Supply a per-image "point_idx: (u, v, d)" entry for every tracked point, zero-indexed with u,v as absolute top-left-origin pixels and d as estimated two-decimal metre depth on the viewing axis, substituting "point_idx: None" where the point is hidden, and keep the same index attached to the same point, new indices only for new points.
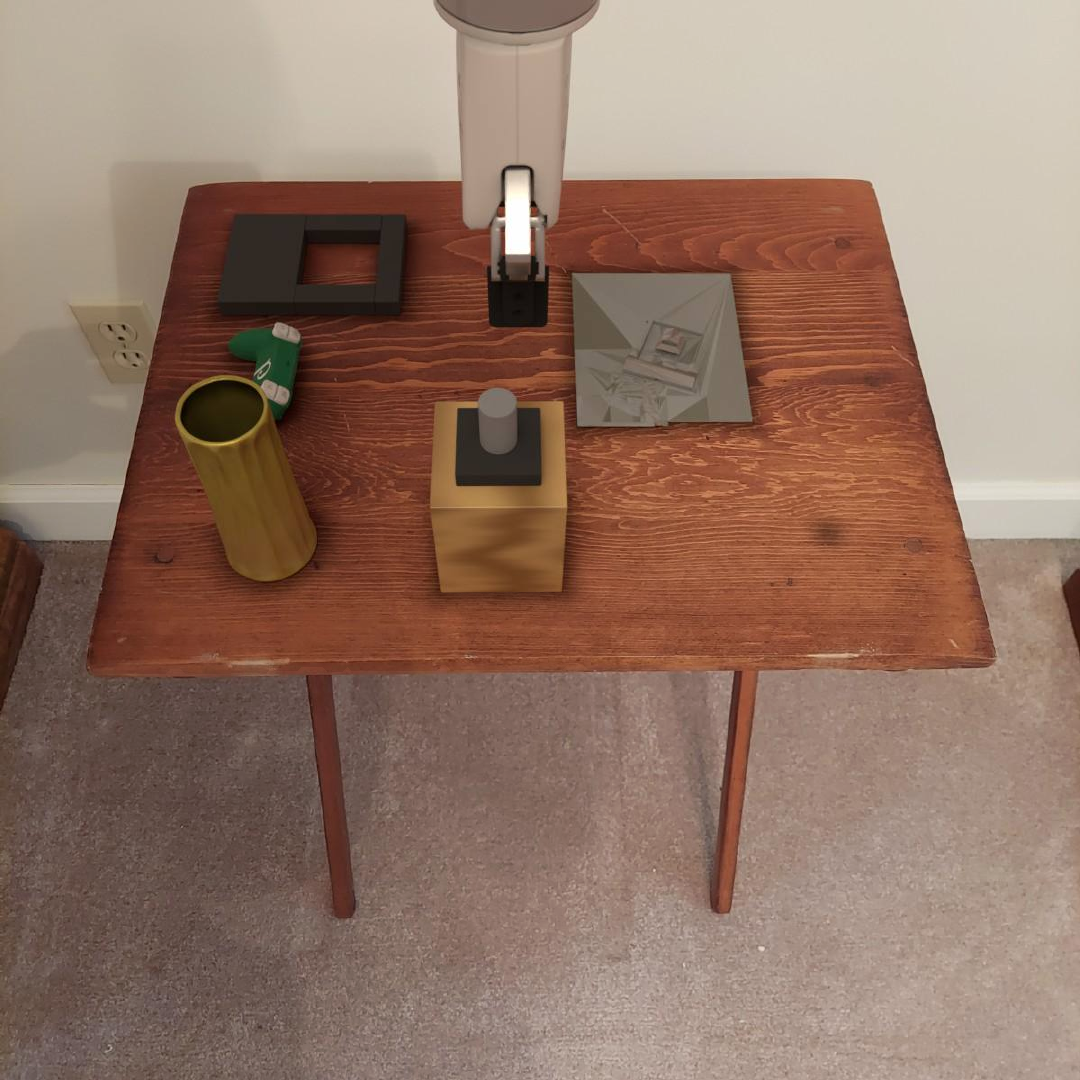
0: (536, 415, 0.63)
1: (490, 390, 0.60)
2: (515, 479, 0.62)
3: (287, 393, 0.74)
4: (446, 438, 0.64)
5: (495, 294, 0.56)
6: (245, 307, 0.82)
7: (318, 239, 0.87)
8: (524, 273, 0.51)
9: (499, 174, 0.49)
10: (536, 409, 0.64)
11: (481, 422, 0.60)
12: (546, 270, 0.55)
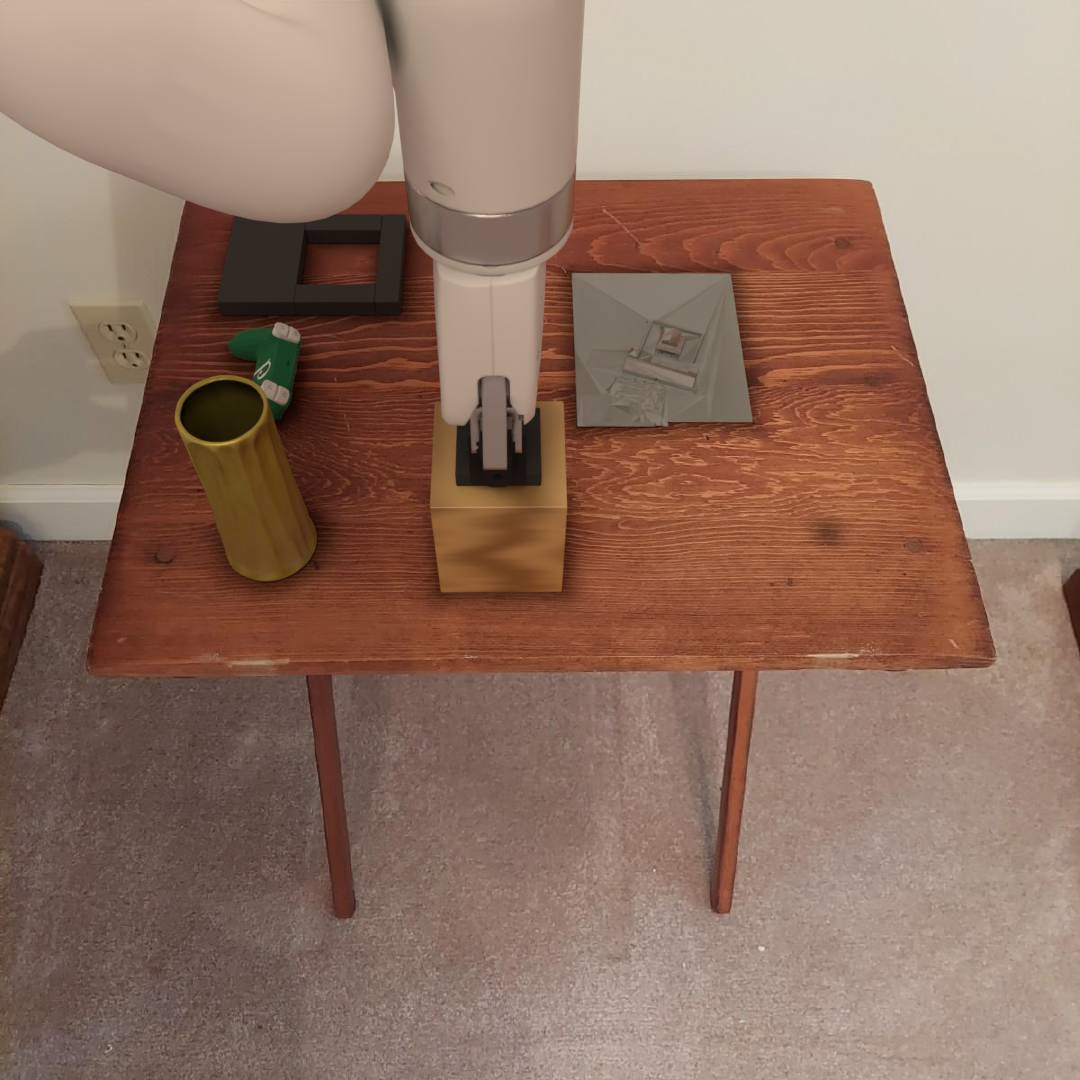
0: (536, 415, 0.63)
1: None
2: None
3: (287, 393, 0.74)
4: (446, 438, 0.64)
5: (476, 459, 0.59)
6: (245, 307, 0.82)
7: (318, 239, 0.87)
8: None
9: (475, 383, 0.50)
10: (536, 409, 0.64)
11: (481, 422, 0.60)
12: (523, 440, 0.58)
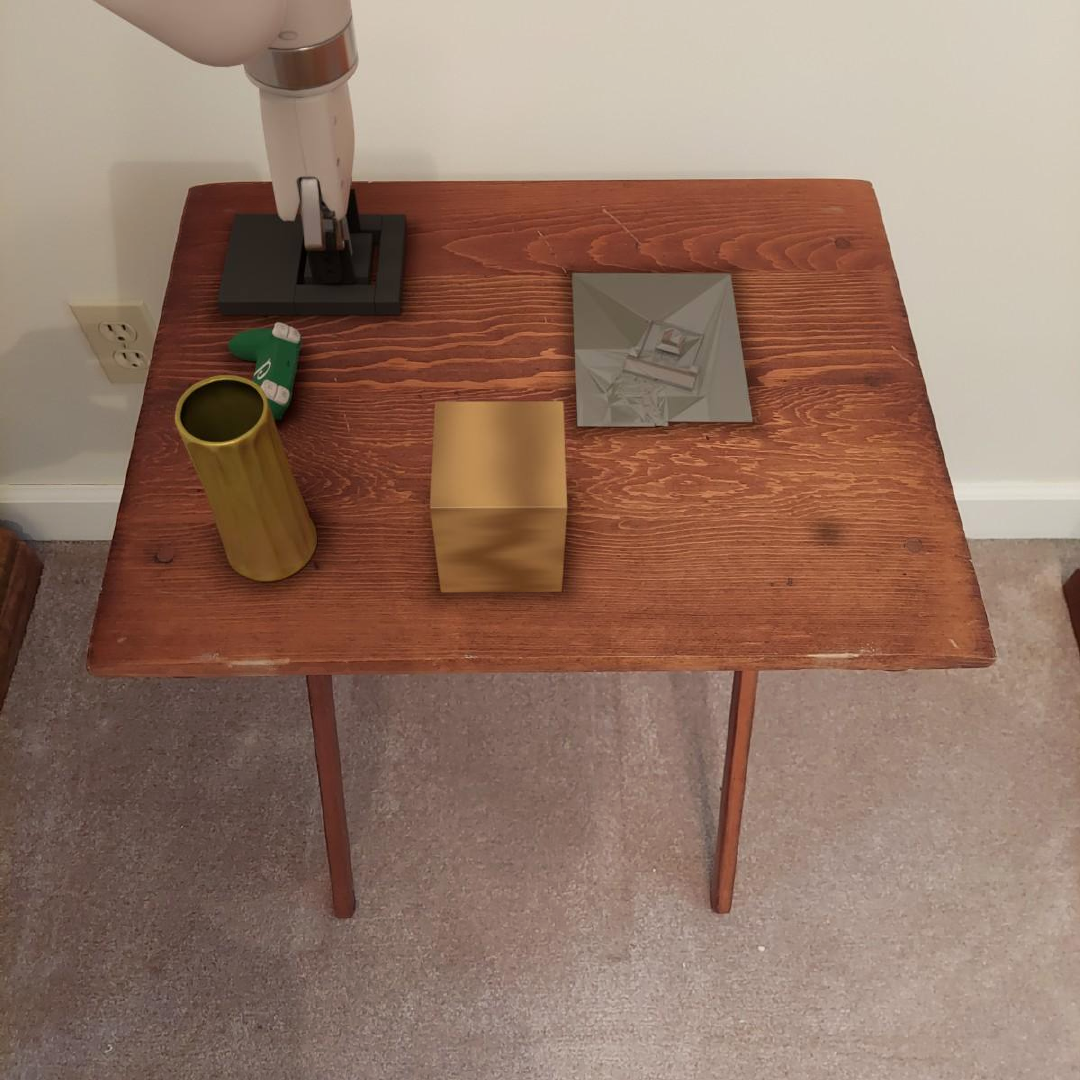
0: (368, 238, 0.85)
1: None
2: None
3: (287, 393, 0.74)
4: (446, 438, 0.64)
5: (313, 260, 0.80)
6: (245, 307, 0.82)
7: None
8: None
9: (295, 183, 0.72)
10: (369, 234, 0.85)
11: None
12: (346, 243, 0.79)
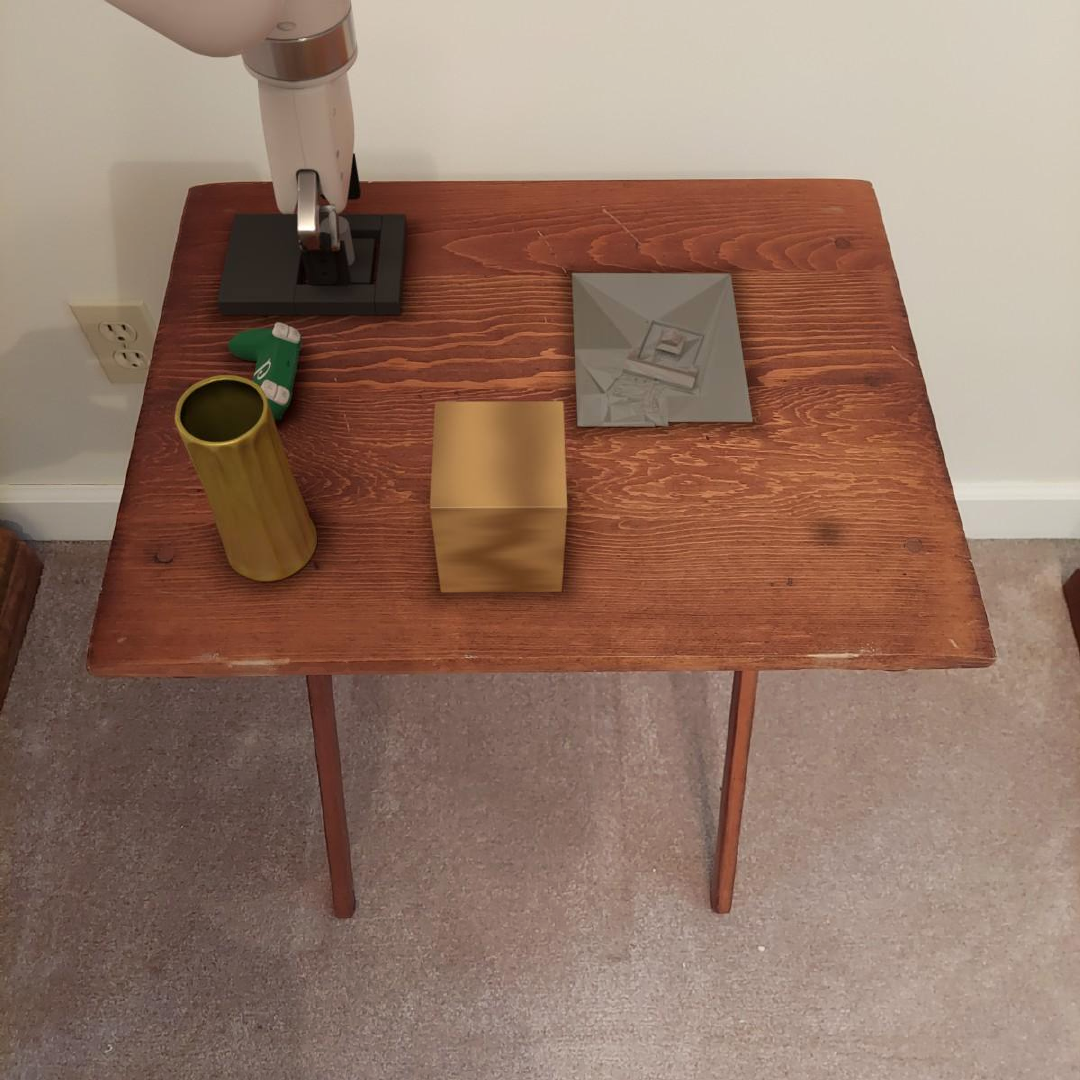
0: (371, 243, 0.85)
1: None
2: None
3: (287, 393, 0.74)
4: (446, 438, 0.64)
5: (308, 261, 0.78)
6: (245, 307, 0.82)
7: None
8: (315, 244, 0.73)
9: (294, 175, 0.72)
10: (371, 239, 0.86)
11: None
12: (342, 243, 0.77)
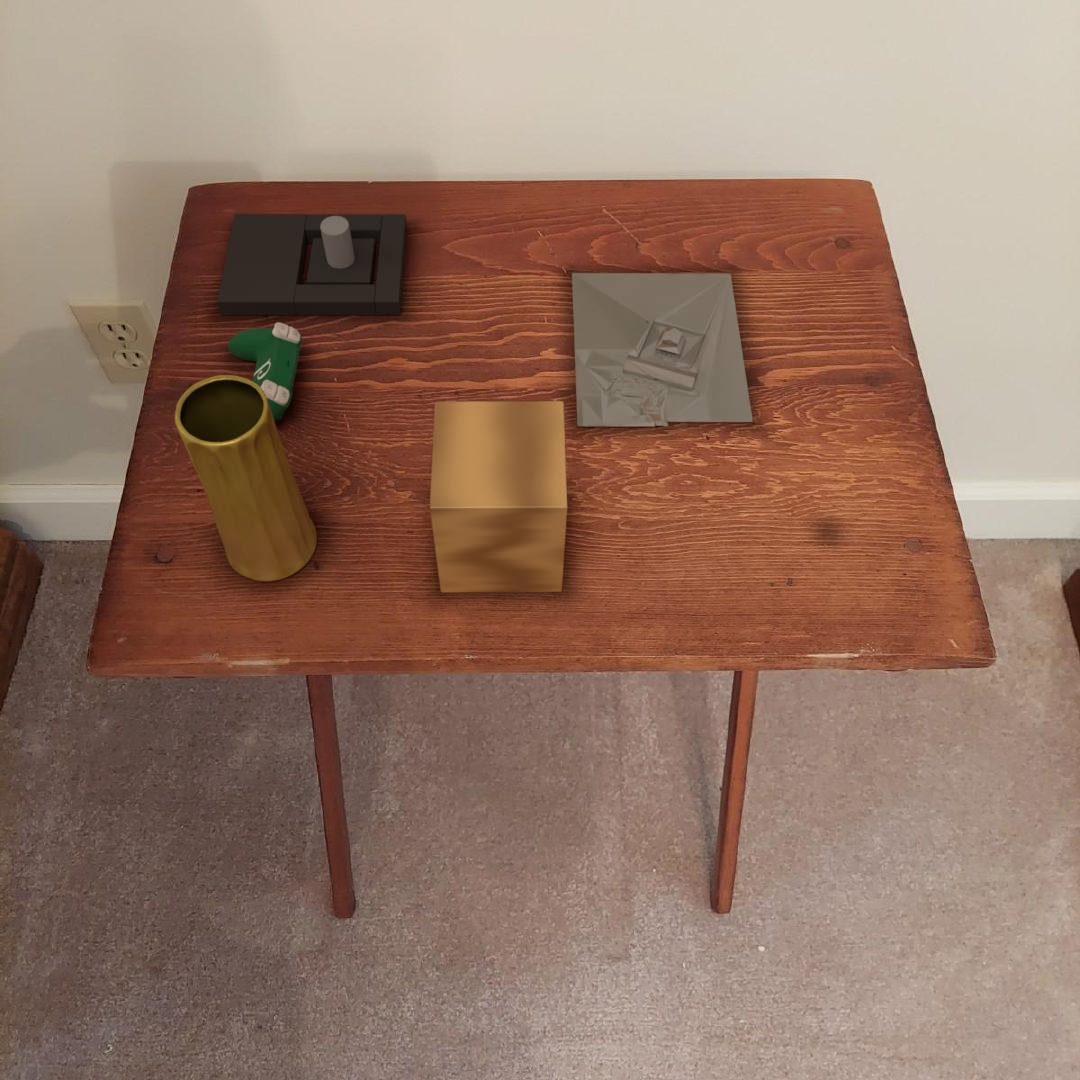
0: (371, 243, 0.85)
1: (330, 217, 0.82)
2: None
3: (287, 393, 0.74)
4: (446, 438, 0.64)
5: None
6: (245, 307, 0.82)
7: None
8: None
9: None
10: (371, 239, 0.86)
11: (323, 241, 0.82)
12: None
